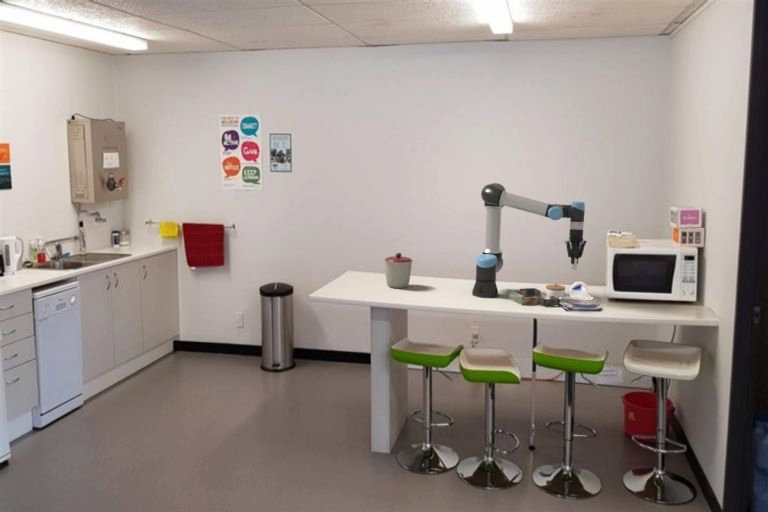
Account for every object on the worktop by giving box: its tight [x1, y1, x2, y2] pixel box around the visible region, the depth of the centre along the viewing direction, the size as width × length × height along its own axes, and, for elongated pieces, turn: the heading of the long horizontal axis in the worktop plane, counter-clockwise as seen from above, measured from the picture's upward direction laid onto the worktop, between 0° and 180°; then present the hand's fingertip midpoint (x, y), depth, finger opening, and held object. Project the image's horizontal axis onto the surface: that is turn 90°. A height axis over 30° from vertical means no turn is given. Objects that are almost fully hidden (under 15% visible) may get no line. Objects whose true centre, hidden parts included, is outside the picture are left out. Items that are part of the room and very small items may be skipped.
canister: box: [383, 252, 414, 289], centre depth 412 cm, size 18×18×21 cm
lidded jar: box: [545, 283, 566, 299], centre depth 386 cm, size 11×11×9 cm
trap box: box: [507, 287, 561, 307], centre depth 382 cm, size 20×29×5 cm
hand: (574, 269), depth 387 cm, fingers closed
